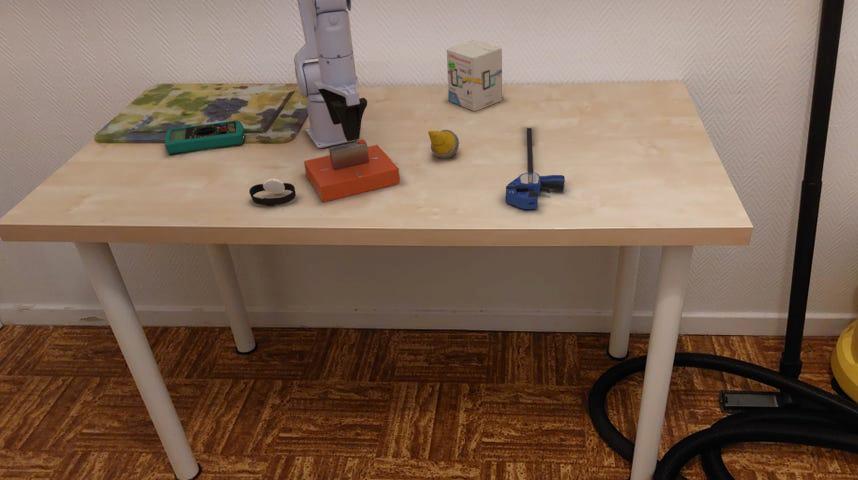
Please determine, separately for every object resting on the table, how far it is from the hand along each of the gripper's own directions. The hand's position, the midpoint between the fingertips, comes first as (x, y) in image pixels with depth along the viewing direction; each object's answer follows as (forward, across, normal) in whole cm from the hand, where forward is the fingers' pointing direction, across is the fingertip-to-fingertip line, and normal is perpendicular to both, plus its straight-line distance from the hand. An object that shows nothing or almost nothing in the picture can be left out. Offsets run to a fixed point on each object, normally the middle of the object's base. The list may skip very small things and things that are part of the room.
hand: (345, 131), depth 127 cm
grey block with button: (+6, 0, 0) cm, 6 cm away
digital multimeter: (+10, -29, -21) cm, 37 cm away
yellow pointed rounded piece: (+10, 0, +18) cm, 20 cm away
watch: (+10, +1, -14) cm, 17 cm away
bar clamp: (+10, +11, +31) cm, 34 cm away
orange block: (+9, 0, 0) cm, 9 cm away
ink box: (+10, -22, +35) cm, 42 cm away
